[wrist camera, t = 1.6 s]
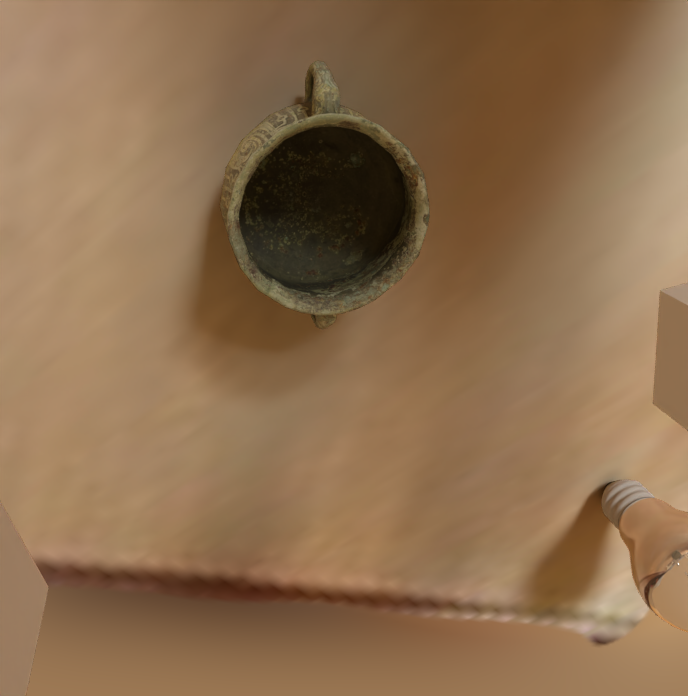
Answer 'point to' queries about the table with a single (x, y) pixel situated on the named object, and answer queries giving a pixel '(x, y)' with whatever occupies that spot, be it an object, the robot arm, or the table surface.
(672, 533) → the light bulb
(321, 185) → the vessel
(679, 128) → the table surface
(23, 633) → the robot arm
